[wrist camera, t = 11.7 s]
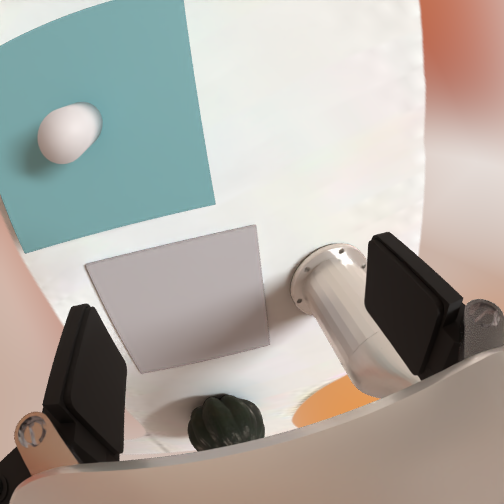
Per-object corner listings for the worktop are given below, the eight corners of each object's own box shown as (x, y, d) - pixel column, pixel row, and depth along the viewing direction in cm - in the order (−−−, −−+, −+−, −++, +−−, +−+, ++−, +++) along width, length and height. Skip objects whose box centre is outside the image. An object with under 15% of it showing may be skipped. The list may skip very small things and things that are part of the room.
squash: (162, 438, 52) (219, 491, 48) (198, 398, 48) (265, 459, 44) (202, 409, 65) (250, 454, 61) (237, 370, 61) (293, 419, 56)
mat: (255, 224, 40) (256, 226, 40) (269, 342, 52) (269, 344, 52) (86, 263, 37) (85, 265, 36) (141, 371, 49) (141, 373, 48)
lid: (181, -12, 19) (184, -34, 14) (214, 201, 30) (224, 229, 25) (-27, 64, 16) (-62, 67, 11) (27, 249, 27) (8, 283, 22)
